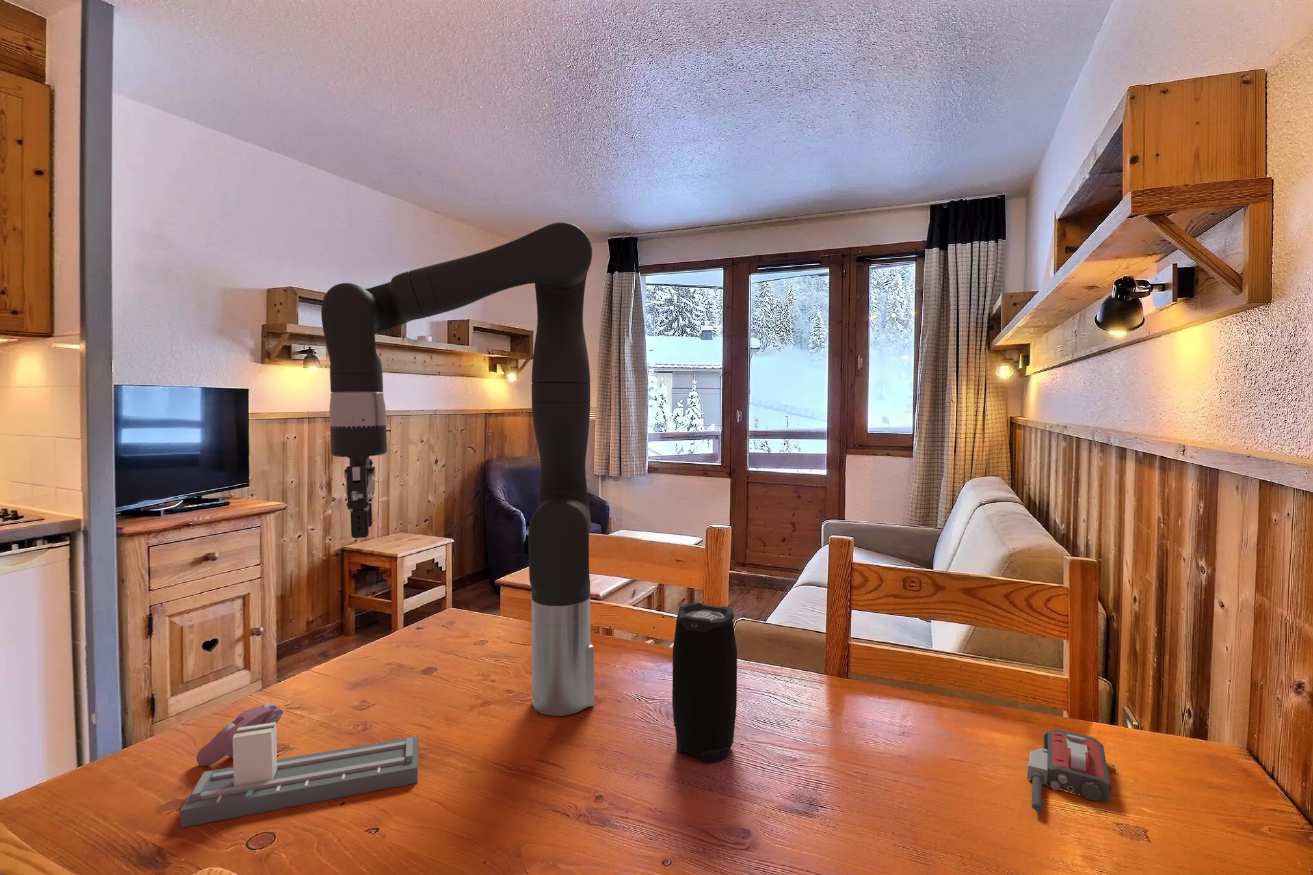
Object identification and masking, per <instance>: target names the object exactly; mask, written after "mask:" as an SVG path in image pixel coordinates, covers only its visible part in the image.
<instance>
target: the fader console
mask: <svg viewBox="0 0 1313 875" xmlns="http://www.w3.org/2000/svg"><path fill="white" fill-rule="evenodd" d="M418 769H419V736H418V735H417V736H411V737H405V738H397V739H392V740H387V741H380V742H375V743H368V744H364V745H357V746H351V747H346V748H345V747H344V748H339V749H334V750H328V751H321V752H315V753H309V754H303V755H297V756H292V757H285V758H279V759H278V758H277V771H276V773H275V775H274V778H273V780H269V781H264V782H258V783H252V784H247V785H241V786H235V787H234V767H233V766H232V767H225V768H220V769H213V770H207V771H203V773H202V774H201V776H200V777H199V779H198V781H197V782H196V784H195V785H194V787H193V788H192V790H191V792H190V794H189V796H188V797H187V798H186V801H185V802H184V804H183V805H182V807H181V809H180V812H179V814H180V815H179V816H180V828H187V827H192V826H197V825H203V824H207V823H213V822H218V821H224V820H229V819H234V818H240V817H244V816H250V815H255V814H260V813H265V812H272V811H277V810H281V809H287V808H293V807H297V806H302V805H303V806H304V805H309V804H313V803H318V802H323V801H324V802H325V801H329V800H335V799H338V798H345V797H350V796H355V795H361V794H366V793H372V792H376V791H381V790H382V791H383V790H386V789H393V788H396V787H397V788H398V787H402V786H408V785H412V784H417V783H418V782H419V780H418V779H419V777H418V776H419V770H418Z"/></svg>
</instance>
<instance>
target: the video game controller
mask: <svg viewBox="0 0 1313 875" xmlns="http://www.w3.org/2000/svg"><path fill="white" fill-rule="evenodd" d="M283 712H284V710H283V709H282V708H280V707H278V706H277V705H274V704H269V703H268V702H264V703H263V704H262V705H261V706H255V707H250V708H248V709H245V710H244V711H242V712H241V713H240V714H238V715H237V716H236V718H235V719H234V720H232V721H231V722H229V723H227V724H226V725H225V727H223V728H222V729H221V730H219V732H217V734H216V735H215V736H214V737H213V738H212V739H211V740H210V741H209V742H208V743H207V744H205V745H204V746H202V747H201V749H200V750H199V751H198V753H197V755H196V762H197V765H199V766H201V767H208V766H211V765H214V764H216V763H217V762H218V761H221V759H223V758H224V757H226V756H228V757H229V758H231V759H232V760H233V736H234V734H235V731H237V729H238V728H240V727H246V726H253V725H260V724H267V723H273V722H276V724H277V723H278V722H279V721H280V719H281V717H282V716H283Z"/></svg>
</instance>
